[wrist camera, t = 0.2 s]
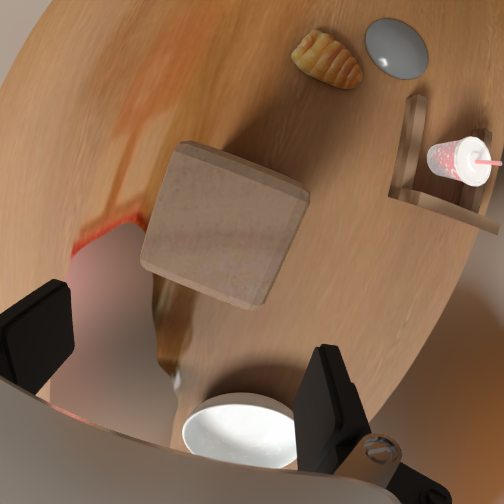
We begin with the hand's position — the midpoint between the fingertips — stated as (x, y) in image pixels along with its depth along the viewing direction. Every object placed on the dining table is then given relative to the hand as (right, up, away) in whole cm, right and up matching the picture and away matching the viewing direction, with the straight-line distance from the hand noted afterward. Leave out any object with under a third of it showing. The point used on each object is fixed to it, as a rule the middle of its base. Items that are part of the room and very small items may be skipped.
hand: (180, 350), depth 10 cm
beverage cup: (+30, +17, +26) cm, 43 cm away
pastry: (+12, +29, +24) cm, 39 cm away
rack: (+29, +17, +26) cm, 43 cm away
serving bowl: (+1, -27, +40) cm, 48 cm away
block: (+1, +10, +29) cm, 31 cm away
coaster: (+23, +32, +22) cm, 45 cm away
